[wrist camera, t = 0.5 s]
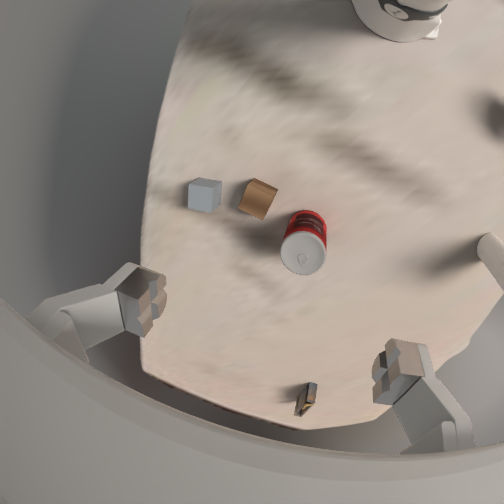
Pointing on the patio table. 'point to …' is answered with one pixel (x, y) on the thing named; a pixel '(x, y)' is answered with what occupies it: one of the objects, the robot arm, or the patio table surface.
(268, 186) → the walnut block
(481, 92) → the patio table surface
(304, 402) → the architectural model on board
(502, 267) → the white bottle
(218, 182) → the grey block
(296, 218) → the canned food
